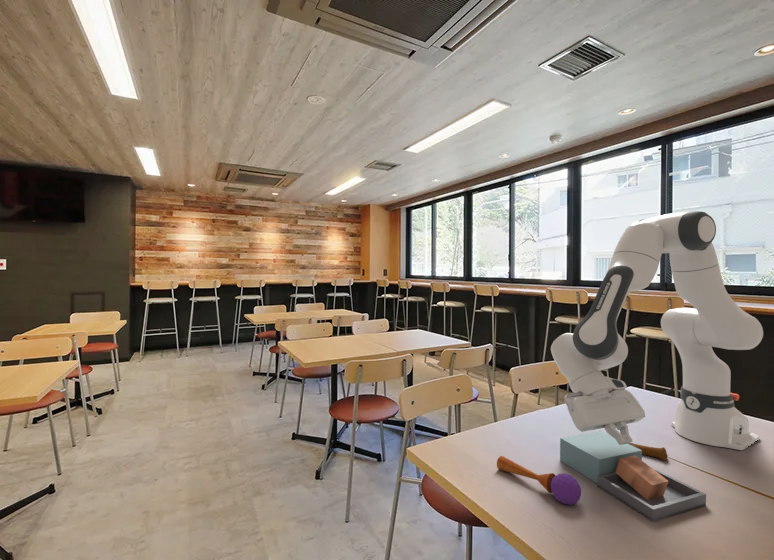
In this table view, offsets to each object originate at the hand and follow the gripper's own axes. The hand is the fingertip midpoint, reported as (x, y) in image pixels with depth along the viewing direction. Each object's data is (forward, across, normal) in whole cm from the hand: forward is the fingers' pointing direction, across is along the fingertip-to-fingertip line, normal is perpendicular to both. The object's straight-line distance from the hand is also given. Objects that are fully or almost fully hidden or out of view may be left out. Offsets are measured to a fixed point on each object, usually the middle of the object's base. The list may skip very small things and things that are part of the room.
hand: (626, 443), depth 89 cm
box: (+11, 0, +3) cm, 11 cm away
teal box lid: (+2, 0, +12) cm, 12 cm away
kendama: (+3, -22, +11) cm, 24 cm away
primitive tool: (-2, +15, +16) cm, 22 cm away
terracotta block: (+4, 0, +3) cm, 5 cm away
